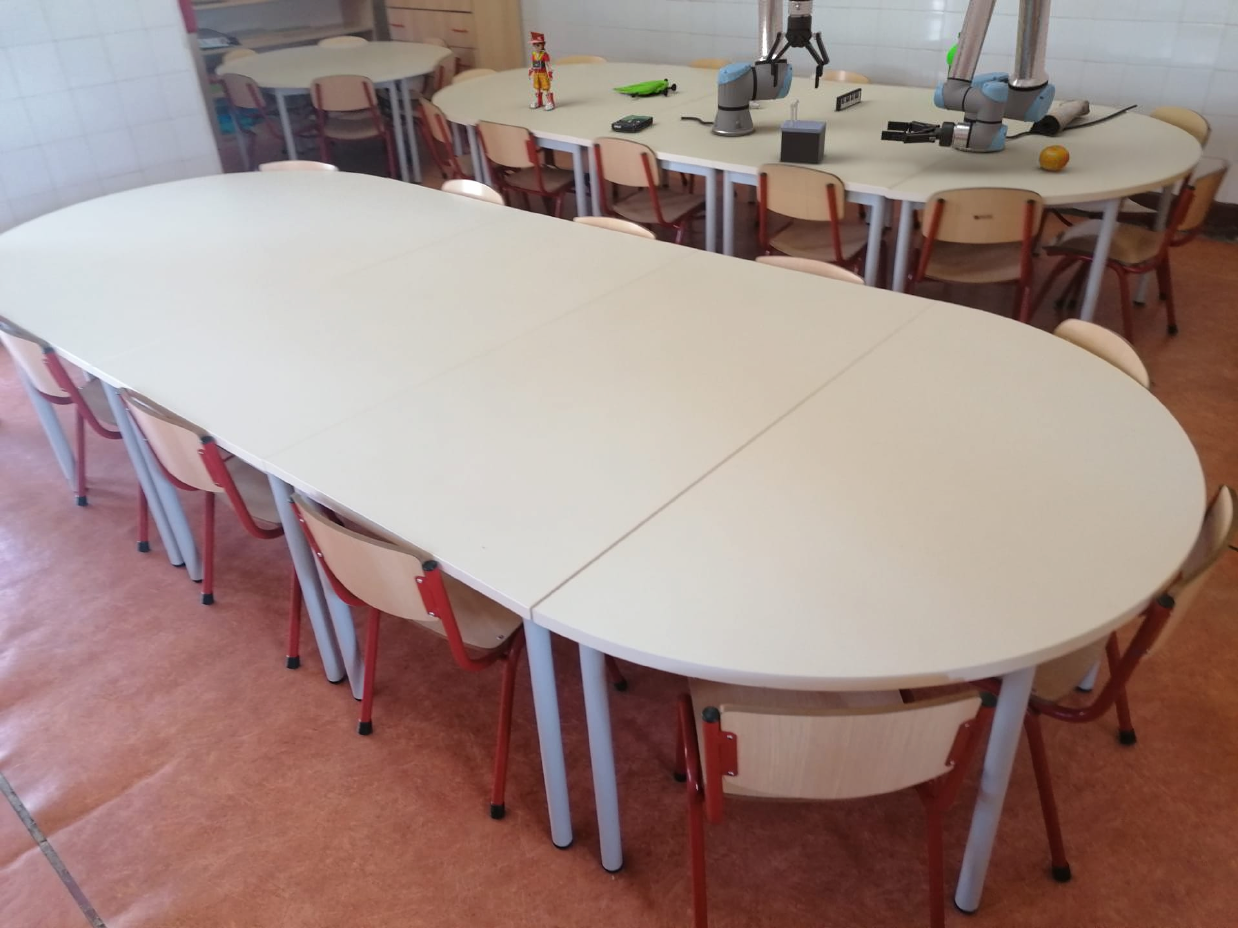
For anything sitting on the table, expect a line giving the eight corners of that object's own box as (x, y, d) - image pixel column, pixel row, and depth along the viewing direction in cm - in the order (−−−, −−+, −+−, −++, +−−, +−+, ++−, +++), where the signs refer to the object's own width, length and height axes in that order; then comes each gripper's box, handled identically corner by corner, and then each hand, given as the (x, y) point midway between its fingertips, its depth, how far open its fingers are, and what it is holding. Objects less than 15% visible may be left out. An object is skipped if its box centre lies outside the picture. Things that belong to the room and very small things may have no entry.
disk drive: (634, 134, 341) (653, 123, 351) (633, 126, 339) (653, 116, 349) (611, 131, 346) (631, 121, 356) (610, 123, 344) (630, 114, 354)
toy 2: (686, 85, 398) (631, 84, 414) (685, 72, 395) (629, 72, 411) (651, 104, 381) (596, 103, 397) (650, 92, 378) (594, 91, 394)
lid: (780, 131, 297) (781, 105, 292) (787, 123, 305) (788, 97, 300) (819, 133, 293) (821, 106, 288) (826, 125, 300) (828, 99, 295)
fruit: (1034, 160, 277) (1052, 137, 274) (1032, 163, 285) (1050, 140, 282) (1057, 176, 276) (1076, 152, 273) (1055, 178, 284) (1073, 155, 281)
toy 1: (525, 109, 381) (517, 32, 364) (534, 104, 388) (527, 28, 371) (550, 110, 377) (543, 32, 360) (559, 105, 384) (553, 28, 367)
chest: (780, 162, 303) (781, 131, 297) (787, 153, 310) (788, 123, 304) (817, 164, 298) (819, 133, 293) (823, 155, 306) (826, 125, 300)
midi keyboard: (838, 111, 353) (839, 97, 350) (835, 110, 353) (836, 97, 350) (860, 101, 363) (861, 88, 360) (857, 101, 364) (859, 88, 361)
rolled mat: (1057, 104, 331) (1081, 87, 323) (1070, 125, 332) (1095, 108, 324) (1024, 126, 314) (1049, 109, 306) (1039, 148, 314) (1064, 131, 306)
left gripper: (757, 17, 282) (755, 88, 294) (837, 17, 273) (831, 91, 285) (764, 13, 287) (761, 83, 299) (842, 13, 279) (836, 85, 291)
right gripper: (947, 157, 274) (877, 152, 281) (955, 137, 293) (888, 133, 300) (952, 131, 270) (880, 127, 277) (959, 113, 289) (891, 110, 296)
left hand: (795, 87), depth 292 cm, fingers open, 13 cm apart
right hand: (884, 130), depth 289 cm, fingers open, 13 cm apart
